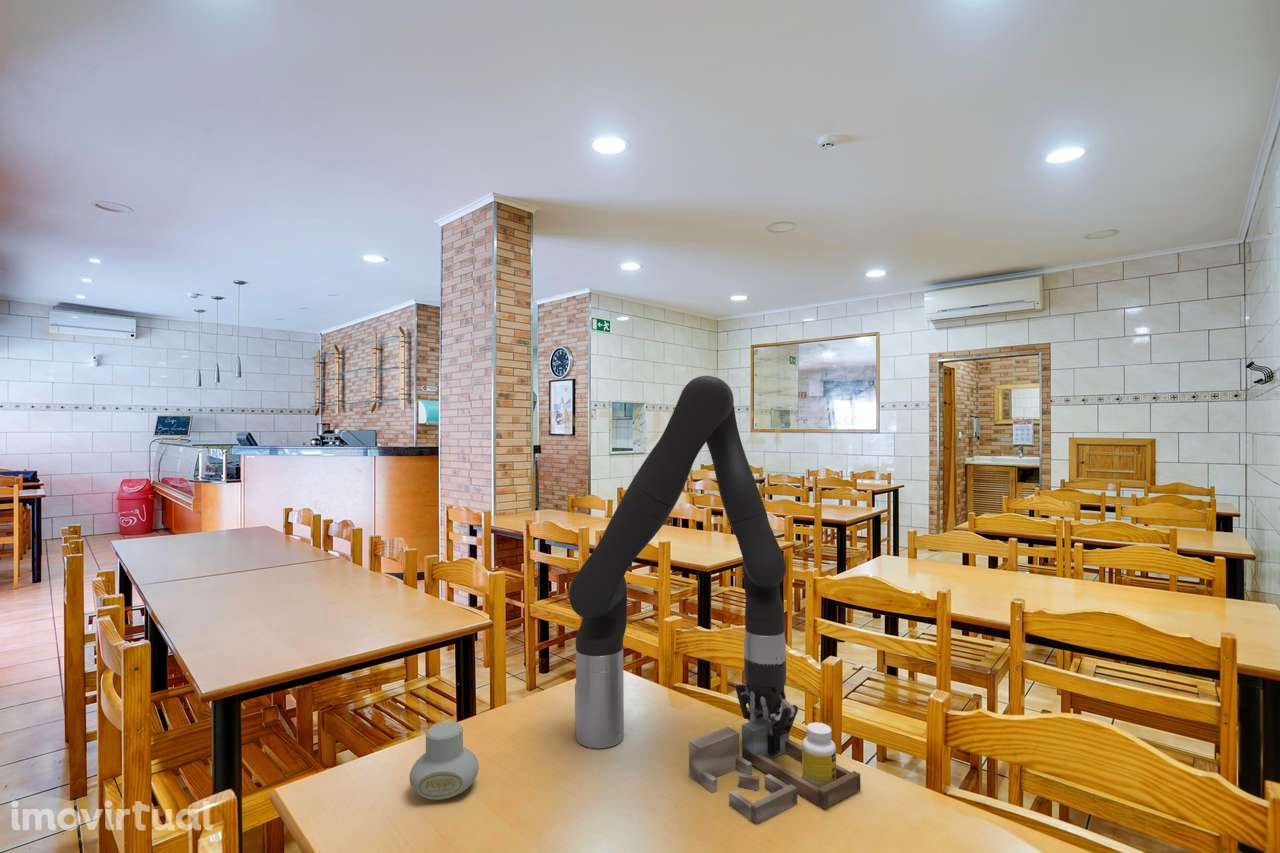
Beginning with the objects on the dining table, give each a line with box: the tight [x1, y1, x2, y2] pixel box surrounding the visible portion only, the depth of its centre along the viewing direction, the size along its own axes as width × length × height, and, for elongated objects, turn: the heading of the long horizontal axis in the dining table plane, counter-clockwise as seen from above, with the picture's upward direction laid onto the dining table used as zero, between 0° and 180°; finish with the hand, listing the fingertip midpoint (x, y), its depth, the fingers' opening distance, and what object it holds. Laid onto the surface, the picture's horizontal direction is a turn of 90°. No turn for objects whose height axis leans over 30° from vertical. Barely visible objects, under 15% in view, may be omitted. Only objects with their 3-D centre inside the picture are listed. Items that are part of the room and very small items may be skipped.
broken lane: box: [688, 726, 798, 825], centre depth 101 cm, size 16×9×6 cm, turn 34°
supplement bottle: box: [801, 722, 837, 788], centre depth 102 cm, size 5×5×10 cm
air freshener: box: [409, 721, 480, 801], centre depth 102 cm, size 11×8×10 cm
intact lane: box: [741, 714, 861, 809], centre depth 105 cm, size 18×9×6 cm, turn 34°
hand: (766, 749), depth 112 cm, fingers closed on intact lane, 3 cm apart
